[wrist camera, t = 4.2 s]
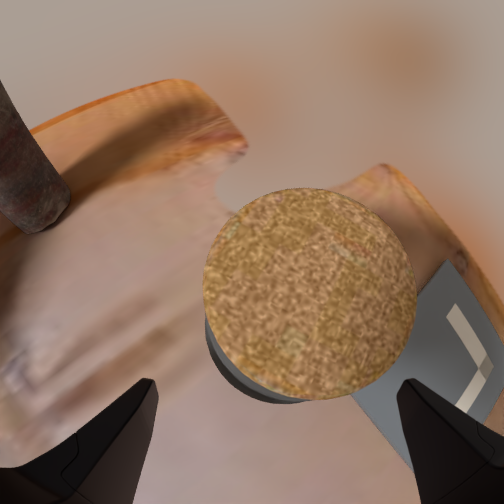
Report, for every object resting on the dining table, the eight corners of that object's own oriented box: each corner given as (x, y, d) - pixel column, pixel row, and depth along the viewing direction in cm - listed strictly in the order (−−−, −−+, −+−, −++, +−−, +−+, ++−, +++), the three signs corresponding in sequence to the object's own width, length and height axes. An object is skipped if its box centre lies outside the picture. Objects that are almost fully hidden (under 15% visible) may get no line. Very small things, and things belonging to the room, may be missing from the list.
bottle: (206, 344, 19) (122, 261, 5) (268, 296, 21) (314, 138, 7) (259, 405, 17) (310, 485, 3) (319, 352, 19) (468, 288, 5)
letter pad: (508, 367, 17) (513, 366, 16) (426, 487, 13) (431, 489, 12) (443, 261, 22) (448, 258, 22) (336, 376, 18) (340, 376, 17)
